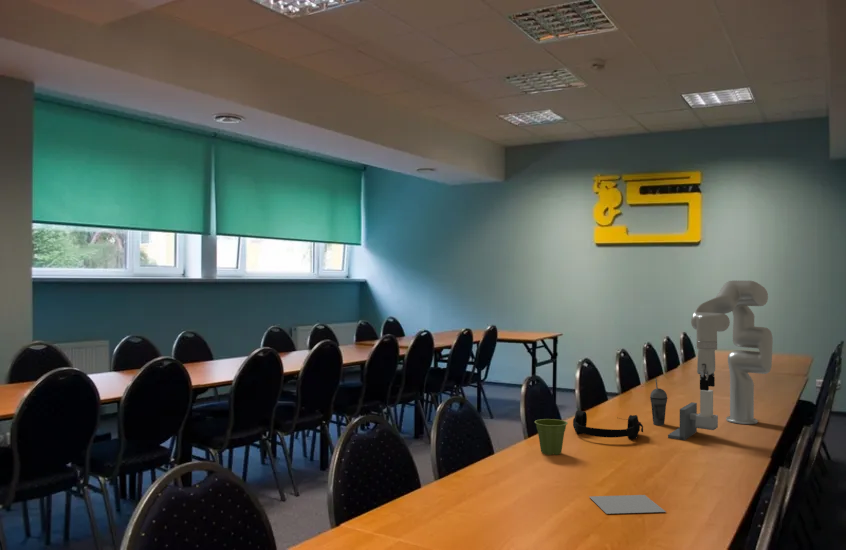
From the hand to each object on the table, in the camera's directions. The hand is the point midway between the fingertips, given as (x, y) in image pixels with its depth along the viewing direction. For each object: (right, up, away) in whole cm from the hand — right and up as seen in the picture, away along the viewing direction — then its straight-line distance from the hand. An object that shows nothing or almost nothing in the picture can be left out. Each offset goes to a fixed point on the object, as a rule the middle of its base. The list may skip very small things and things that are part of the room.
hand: (707, 388), depth 264 cm
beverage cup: (-11, -20, +24) cm, 33 cm away
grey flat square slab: (-53, -20, -74) cm, 93 cm away
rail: (-1, -15, -1) cm, 15 cm away
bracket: (-4, -20, +2) cm, 20 cm away
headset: (-38, -20, +5) cm, 44 cm away
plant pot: (-67, -20, -24) cm, 74 cm away
